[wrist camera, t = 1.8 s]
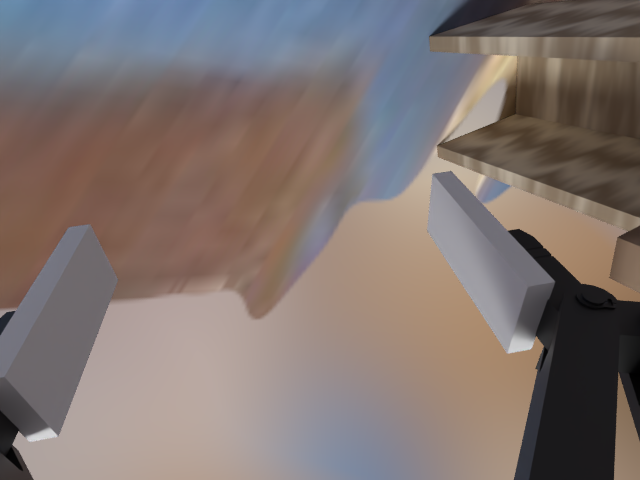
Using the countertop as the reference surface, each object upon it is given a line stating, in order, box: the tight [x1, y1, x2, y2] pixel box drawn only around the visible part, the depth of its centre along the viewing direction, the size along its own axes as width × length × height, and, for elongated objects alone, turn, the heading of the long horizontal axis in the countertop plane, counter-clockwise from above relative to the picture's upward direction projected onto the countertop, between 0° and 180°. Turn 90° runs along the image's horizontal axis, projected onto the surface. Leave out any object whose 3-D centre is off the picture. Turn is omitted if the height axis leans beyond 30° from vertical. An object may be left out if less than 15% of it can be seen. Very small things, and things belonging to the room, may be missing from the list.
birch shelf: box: [429, 0, 640, 231], centre depth 36 cm, size 16×14×30 cm
